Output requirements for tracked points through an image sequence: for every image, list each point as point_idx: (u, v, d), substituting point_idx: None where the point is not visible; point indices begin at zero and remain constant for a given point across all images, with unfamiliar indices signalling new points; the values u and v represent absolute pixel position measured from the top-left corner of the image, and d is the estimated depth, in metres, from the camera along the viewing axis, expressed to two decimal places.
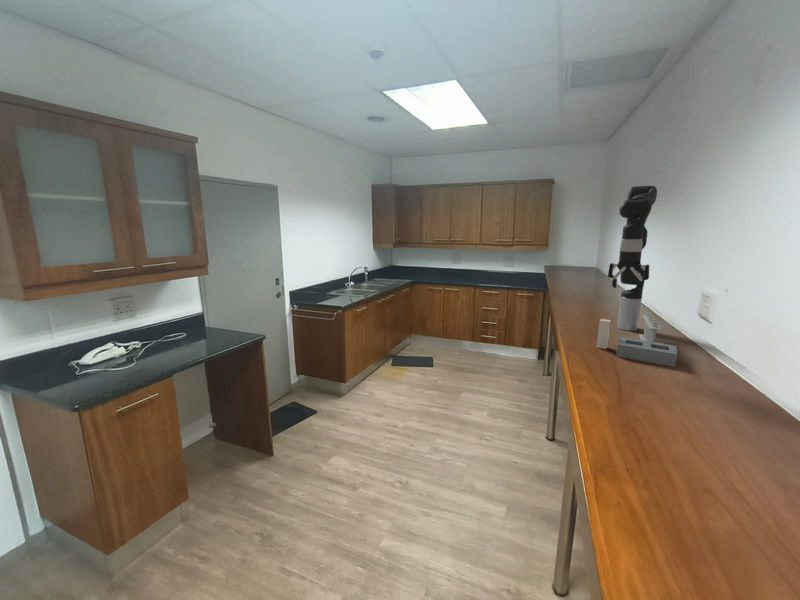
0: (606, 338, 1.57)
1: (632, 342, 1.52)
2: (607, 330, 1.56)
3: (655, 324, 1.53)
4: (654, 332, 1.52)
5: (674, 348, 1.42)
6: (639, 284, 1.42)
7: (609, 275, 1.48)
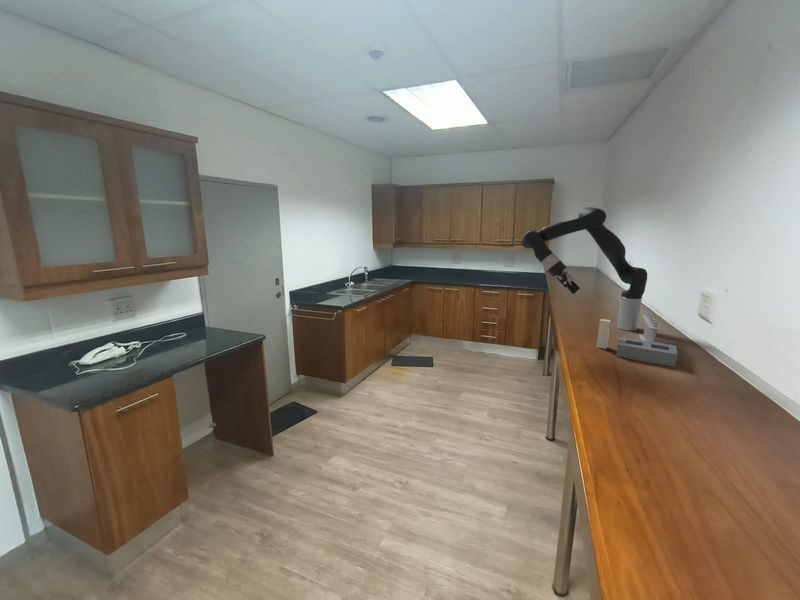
0: (606, 338, 1.57)
1: (632, 342, 1.52)
2: (607, 330, 1.56)
3: (655, 324, 1.53)
4: (654, 332, 1.52)
5: (674, 348, 1.42)
6: None
7: None
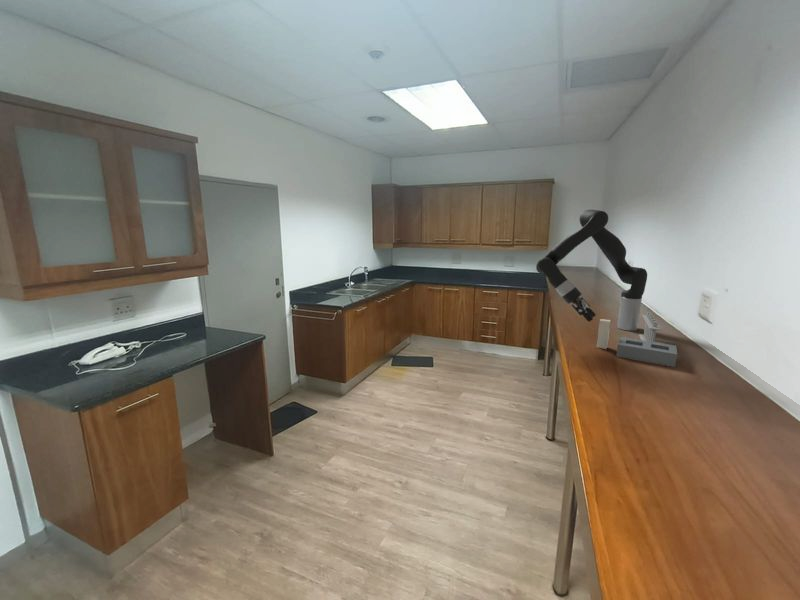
0: (606, 338, 1.57)
1: (632, 342, 1.52)
2: (607, 330, 1.56)
3: (655, 324, 1.53)
4: (654, 332, 1.53)
5: (674, 348, 1.42)
6: (585, 317, 1.58)
7: None
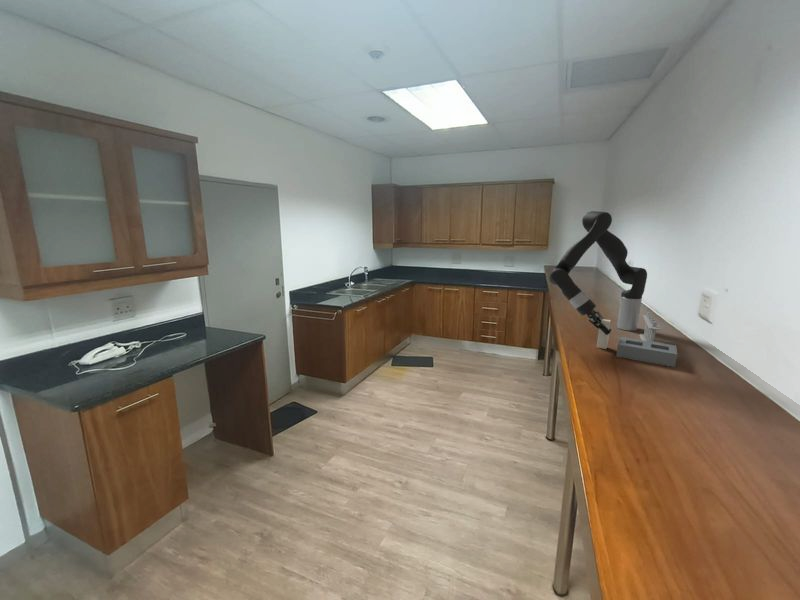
0: (606, 338, 1.57)
1: (632, 342, 1.52)
2: None
3: (654, 324, 1.53)
4: (653, 332, 1.53)
5: (674, 348, 1.42)
6: (602, 330, 1.57)
7: None
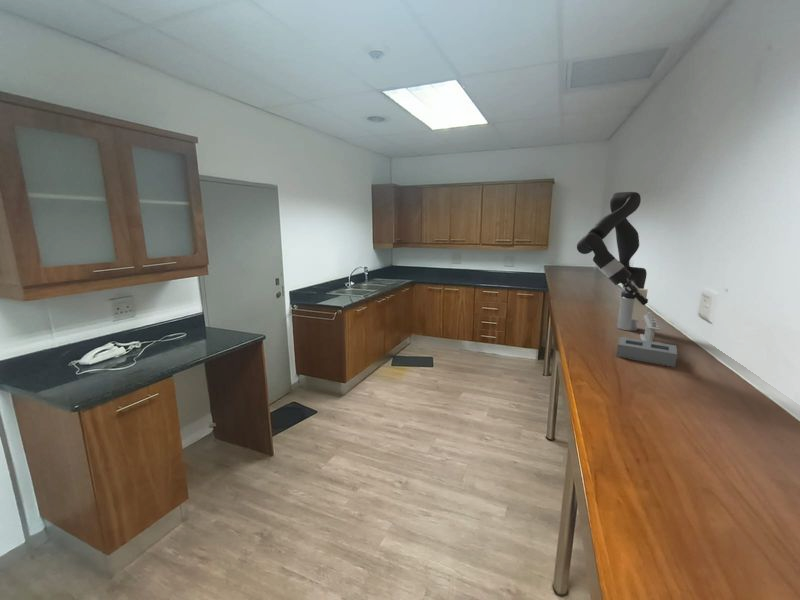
0: (643, 309, 1.44)
1: (632, 342, 1.52)
2: None
3: (654, 324, 1.54)
4: (652, 332, 1.53)
5: (674, 348, 1.42)
6: (639, 300, 1.44)
7: None
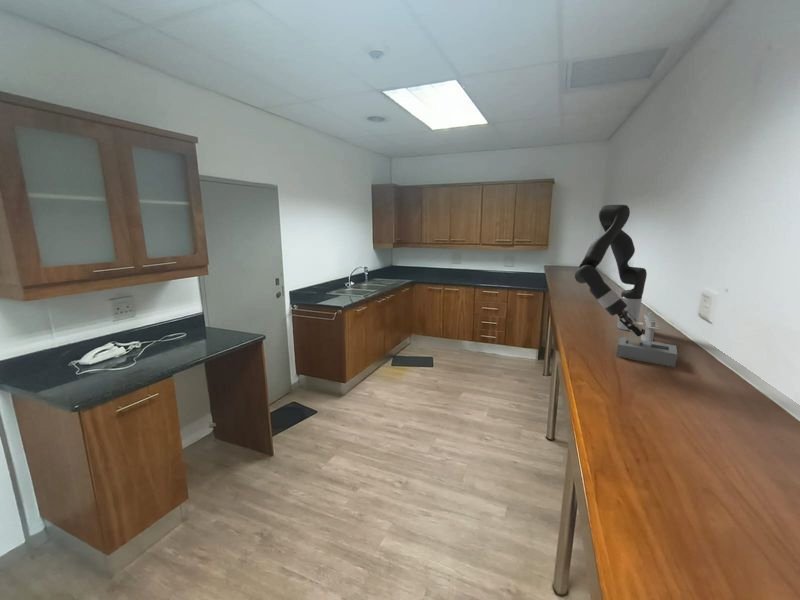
0: (638, 342, 1.47)
1: None
2: None
3: (653, 324, 1.54)
4: (651, 331, 1.53)
5: (674, 348, 1.42)
6: (634, 332, 1.46)
7: None
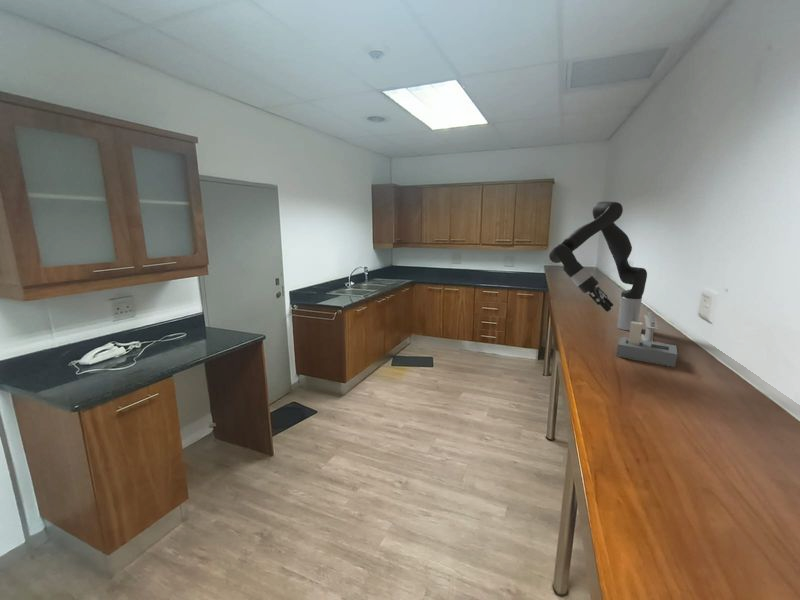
0: (638, 342, 1.47)
1: None
2: (639, 333, 1.46)
3: (652, 323, 1.54)
4: (651, 331, 1.53)
5: (674, 348, 1.42)
6: (603, 307, 1.50)
7: None
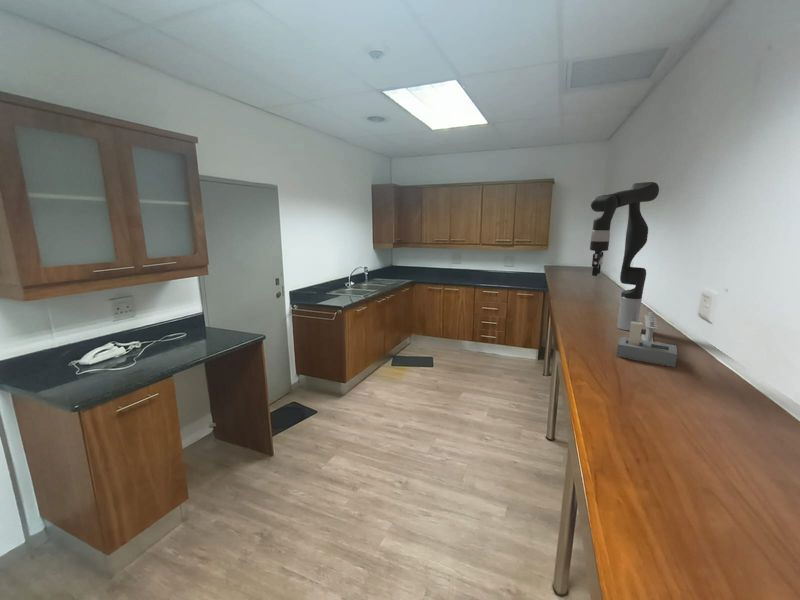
0: (638, 342, 1.47)
1: None
2: (639, 333, 1.46)
3: (652, 323, 1.54)
4: (650, 331, 1.54)
5: (674, 348, 1.42)
6: (592, 270, 1.61)
7: None
